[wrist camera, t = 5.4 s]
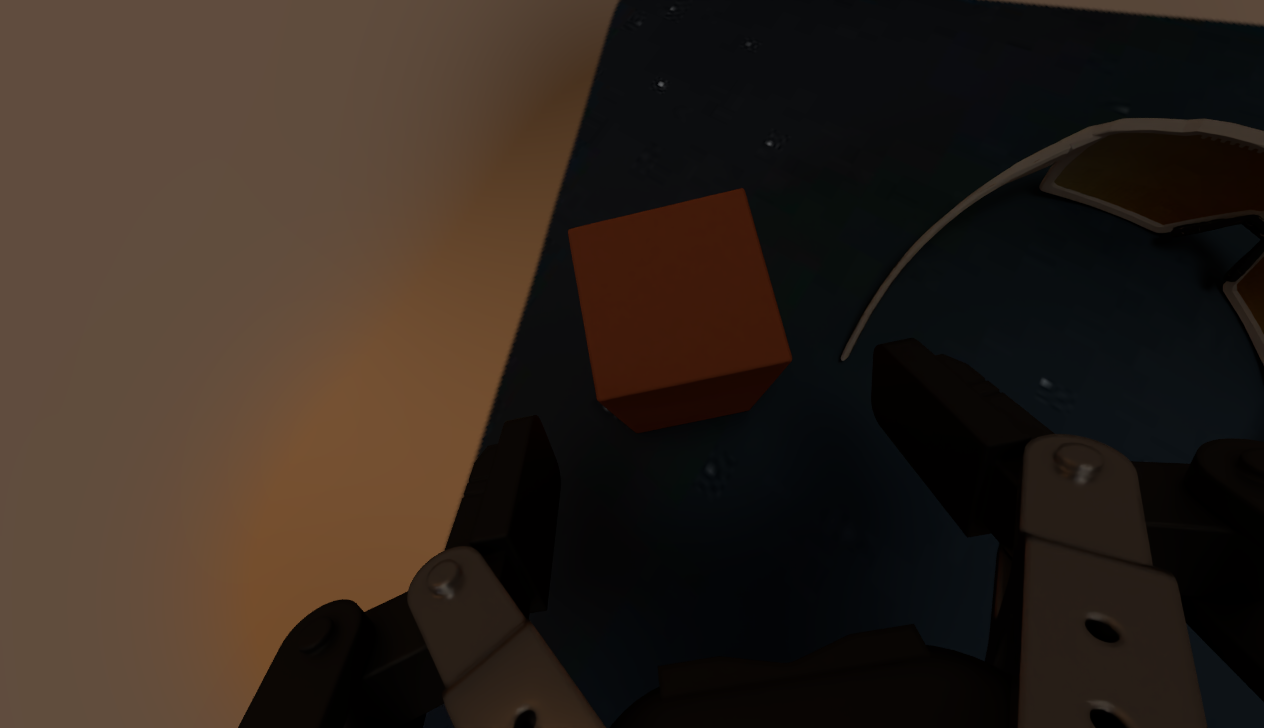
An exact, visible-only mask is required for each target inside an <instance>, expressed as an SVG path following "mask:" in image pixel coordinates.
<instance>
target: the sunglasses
mask: <svg viewBox="0 0 1264 728" xmlns="http://www.w3.org/2000/svg"><path fill="white" fill-rule="evenodd" d="M1055 161H1056V162H1055ZM1054 162H1055V163H1054ZM1053 163H1054V164H1053ZM1052 164H1053V165H1052ZM1050 165H1052V166H1051V168H1050V169H1049V171H1048V172H1047V174H1046V176H1045V177H1044V179H1043V180H1042V182H1041V184H1040V186H1039V187H1040V190H1041V191H1043V192H1047V193H1050V194H1054V195H1058V196H1061V197H1064V198H1067V199H1071V200H1074V201H1077V202H1080V203H1084V204H1087V205H1090V206H1093V207H1095V208H1098V209H1101V210H1103V211H1106V212H1109V213H1111V214H1114V215H1117V216H1119V217H1122V218H1124V219H1127V220H1129V221H1131V222H1134V223H1136V224H1138V225H1140V226H1142V227H1144V228H1146V229H1148V230H1151V231H1153V232H1156V233H1167V232H1171V236H1173V237H1179V236H1186V235H1191V234H1196V233H1201V232H1205V231H1210V230H1215V229H1219V228H1223V227H1227V226H1232V225H1237V224H1242V225H1244V226H1245V227H1246V228H1247V229H1249V230H1250V231H1251V232H1252V233H1253V234H1255V235H1256V236H1257V237H1258V238H1260V239H1261V240H1260V241H1259V242H1258V243H1257V244H1256V245H1255V246H1254V247H1253V248H1252V249H1251V250H1250V251H1249V252H1248V253H1247V254H1246V255H1245V256H1243V257H1242V258H1241V259H1240V260H1239V261H1238V262H1237V263H1236V264H1235V265H1234V266H1233V267H1232V268H1231V269H1230V270H1229V271H1228V272H1227V273H1226V274H1225V276H1224V278H1223V279H1224V281H1226V282H1225V283H1224V284H1223V292H1224V293H1225V295H1226V296H1227V298H1228V300H1229V301H1230V303H1231V304H1232V306H1233V308H1234V309H1235V311H1236V312H1237V314H1238V315H1239V317H1240V319H1241V321H1242V322H1243V324H1244V326H1245V328H1246V330H1247V332H1248V334H1249V336H1250V338H1251V340H1252V342H1253V345H1254V347H1255V349H1256V351H1257V353H1258V355H1259V357H1260V359H1261V361H1262V363H1263V365H1264V131H1261V130H1257V129H1253V128H1249V127H1246V126H1242V125H1238V124H1234V123H1228V122H1222V121H1216V120H1210V119H1195V120H1179V119H1160V118H1130V119H1120V120H1116V121H1113V122H1109V123H1105V124H1101V125H1096V126H1091V127H1088V128H1086V129H1084V130H1081V131H1079V132H1077V133H1075V134H1073V135H1071V136H1069V137H1067V138H1065V139H1063V140H1060V141H1059V142H1057V143H1055V144H1053V145H1051V146H1049V147H1047V148H1045V149H1043V150H1041V151H1039V152H1037V153H1035V154H1033V155H1031V156H1029V157H1028V158H1026V159H1024V160H1022V161H1020V162H1018V163H1016V164H1015V165H1013V166H1012V167H1010V168H1009V169H1007V170H1006V171H1004V172H1003V173H1001V174H1000V175H998V176H996V177H995V178H993V179H992V180H990V181H989V182H988V183H986V184H985V185H983V186H982V187H980V188H979V189H978V190H976V191H975V192H973V193H972V194H970V195H969V196H968V197H967V198H965V199H964V200H963V201H962V202H961V203H959V204H958V205H957V206H956V207H955V208H953V209H952V210H951V211H950V212H949V213H947V214H946V215H945V216H944V217H943V218H941V219H940V220H939V221H938V222H937V223H935V224H934V225H933V226H932V227H931V228H930V229H929V230H928V231H927V232H926V233H925V234H923V235H922V236H921V237H920V238H919V239H918V240H917V241H916V242H915V243H914V245H913V246H912V247H911V248H910V249H909V250H908V251H907V252H906V253H905V254H904V256H903V257H902V258H901V259H900V260H899V261H898V263H897V264H896V265H895V266H894V268H893V269H892V271H891V272H890V273H889V275H888V276H887V277H886V279H885V280H884V282H883V283H882V284H881V286H880V287H879V289H878V290H877V292H876V293H875V295H874V296H873V298H872V299H871V301H870V302H869V304H868V306H867V307H866V309H865V311H864V312H863V314H862V316H861V318H860V319H859V321H858V323H857V324H856V326H855V328H854V330H853V332H852V334H851V336H850V338H849V340H848V342H847V344H846V346H845V348H844V351H843V353H842V356H841V360H845V359H846V358H847V357H848V356H849V354H851V352H852V350H853V348H854V346H855V344H856V342H857V340H858V338H859V336H860V334H861V332H862V330H863V328H864V326H865V325H866V323H867V321H868V319H869V318H870V316H871V314H872V313H873V311H874V309H875V308H876V306H877V304H878V303H879V301H880V300H881V298H882V297H883V295H884V294H885V292H886V291H887V290H888V288H889V287H890V285H891V284H892V283H893V281H894V280H895V279H896V277H897V276H898V275H899V273H900V272H901V271H902V270H903V268H904V267H905V266H906V265H907V263H908V262H909V261H910V260H911V259H912V258H913V256H914V255H915V254H916V253H917V252H918V251H919V250H920V249H921V248H922V246H923V245H924V244H925V243H926V242H927V241H929V240H930V239H931V238H932V237H933V236H934V235H935V234H936V233H937V232H938V231H940V230H941V229H942V228H943V227H944V226H945V225H946V224H947V223H949V222H950V221H951V220H952V219H953V218H955V217H956V216H957V215H958V214H959V213H961V212H962V211H963V210H964V209H966V208H967V207H969V206H970V205H972V204H973V203H975V202H976V201H978V200H979V199H981V198H982V197H983V196H985V195H987V194H989V193H990V192H992V191H994V190H995V189H997V188H999V187H1001V186H1002V185H1004V184H1006V183H1009V182H1011V181H1014V180H1017V179H1019V178H1022V177H1024V176H1027V175H1029V174H1032V173H1034V172H1036V171H1038V170H1041V169H1043V168H1045V167H1048V166H1050ZM1189 233H1190V234H1189Z"/></svg>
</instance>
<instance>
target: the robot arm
mask: <svg viewBox="0 0 1264 728" xmlns="http://www.w3.org/2000/svg"><path fill="white" fill-rule="evenodd" d="M871 402H872V408H873V412H874V415H875V418H876V420H877V422H878V424H879V425H880V427H881V428H882V429H883V430H884V432H885V433H886V434H887V436H888V437H889V438H890V439H891V441H892V442H893V443H894V444H895V446H896V447H897V448H898V450H899V451H900V452H901V453H902V455H903V456H904V457H905V459H906V460H907V461H908V462H909V464H910V465H911V466H912V467H913V469H914V470H915V471H916V473H917V474H918V475H919V476H920V478H921V479H922V480H923V481H924V483H925V484H926V485H927V487H928V488H929V489H930V490H931V492H932V493H933V494H934V496H935V497H936V498H937V499H938V501H939V502H940V503H941V504H942V506H943V507H944V508H945V510H946V511H947V512H948V513H949V515H950V516H951V517H952V519H953V520H954V521H955V522H956V524H957V525H958V526H959V527H960V529H961V530H962V531H963V533H964V534H965V535H966V536H967V537H973V536H978V535H984V534H990V533H992V534H993V536H994V537H995V538H996V539H997V540H998V541H999V547H998V551H997V556H996V567H995V579H994V590H993V601H992V612H991V623H990V633H989V641H988V647H987V652H986V657H985V662H984V661H982V660H980V659H977V658H975V657H973V656H970V655H967V654H963V653H960V652H957V651H954V650H950V649H945V648H940V647H936V646H929V645H925V643H924V641H923V639H922V638H921V636H920V634H919V632H918V631H917V629H916V627H915V625H914V624H911V625H905V626H899V627H892V628H886V629H880V630H874V631H868V632H862V633H856V634H850V635H847V636H845V637H843V638H841V639H839V640H837V641H835V642H833V643H831V644H829V645H827V646H825V647H823V648H821V649H819V650H817V651H814V652H812V653H810V654H808V655H806V656H804V657H802V658H800V659H798V660H796V661H793V662H790V663H777V662H768V661H758V660H749V659H740V658H730V657H721V656H718V657H711V658H705V659H699V660H693V661H687V662H681V663H675V664H669V665H663V666H658V673H659V685H660V687H658V688H656V689H654V690H652V691H650V692H649V693H647V694H646V695H644V696H643V697H641V698H640V699H638V700H637V701H635V702H634V703H633V704H632V705H631V706H630V707H629V708H627V709H626V710H625V711H624V712H623V713H622V714H621V715H620V716H619V717H618V719H617V720H616V721H615V722H614V723H613V724H612V725H611V727H610V728H1207V724H1206V719H1205V714H1204V709H1203V704H1202V699H1201V694H1200V690H1199V685H1198V680H1197V675H1196V670H1195V665H1194V660H1193V656H1192V651H1191V646H1190V641H1189V636H1188V631H1187V626H1186V623H1187V624H1188V625H1189V626H1190V627H1191V628H1192V629H1193V630H1194V631H1195V632H1196V633H1197V635H1198V636H1199V637H1200V638H1201V639H1202V640H1203V641H1204V642H1205V643H1206V644H1207V645H1208V646H1209V647H1210V648H1211V649H1212V650H1213V651H1214V652H1215V653H1216V654H1217V655H1218V656H1219V657H1220V658H1221V659H1222V660H1223V661H1224V662H1225V663H1226V664H1227V665H1228V666H1229V667H1230V668H1231V669H1232V670H1233V671H1234V672H1235V673H1236V674H1237V675H1238V676H1239V677H1240V678H1241V679H1242V680H1243V681H1244V682H1245V683H1246V684H1247V685H1248V686H1249V687H1250V688H1251V689H1252V690H1253V691H1254V692H1255V693H1256V694H1257V695H1258V696H1259V698H1260V699H1261V700H1262V701H1263V702H1264V442H1260V441H1254V440H1246V439H1218V440H1213V441H1209V442H1207V443H1204V444H1203V445H1202V446H1200V447H1199V449H1198V450H1197V452H1196V454H1195V456H1194V458H1193V460H1192V462H1191V464H1180V463H1155V462H1133V461H1129V460H1128V459H1127V458H1126V457H1125V456H1124V455H1122V454H1121V453H1120V452H1118V451H1117V450H1115V449H1113V448H1111V447H1109V446H1107V445H1105V444H1103V443H1100V442H1098V441H1095V440H1092V439H1088V438H1085V437H1080V436H1075V435H1067V434H1054V433H1053V432H1052V431H1051V430H1049V429H1048V428H1047V427H1045V426H1044V425H1043V424H1042V423H1040V422H1039V421H1038V420H1037V419H1035V418H1034V417H1033V416H1032V415H1030V414H1029V413H1028V412H1027V411H1025V410H1024V409H1023V408H1022V407H1020V406H1019V405H1018V404H1017V403H1015V402H1014V401H1013V400H1012V399H1010V398H1009V397H1008V396H1007V395H1005V394H1004V393H1000V392H999V389H998V388H997V387H995V386H994V385H993V384H992V383H990V382H989V381H985V378H984V377H983V376H981V375H980V374H979V373H978V372H976V371H975V370H974V369H973V368H971V367H970V366H969V365H968V364H966V363H963V362H961V361H958V360H956V359H953V358H951V357H949V356H946V355H944V354H940V355H934V354H933V353H932V352H930V351H929V350H928V349H927V348H926V347H925V346H923V345H922V344H921V343H920V342H919V341H917V340H916V339H914V338H909V339H904V340H899V341H894V342H889V343H885V344H880V345H877V346H876V347H875V349H874V354H873V373H872V395H871ZM560 489H561V478H560V471H559V466H558V463H557V460H556V457H555V455H554V452H553V450H552V447H551V445H550V442H549V440H548V437H547V435H546V432H545V430H544V427H543V425H542V423H541V420H540V419H539V417H538V416H537V415H534V416H529V417H524V418H519V419H514V420H510V421H506V422H505V423H504V426H503V429H502V432H501V436H500V439H499V443H498V444H495V445H490V446H488V447H487V448H486V449H485V450H484V452H483V453H482V454H481V455H480V457H479V458H478V459H477V460H476V462H475V463H474V466H473V469H472V472H471V475H470V478H469V483H468V484H467V486H466V489H465V492H464V498H462V501H461V504H460V507H459V510H458V513H457V516H456V519H455V522H454V524H453V527H452V530H451V533H450V536H449V539H448V542H447V545H446V548H445V551H443V552H441V553H439V554H438V555H436V556H434V557H433V558H432V559H430V560H429V561H428V562H427V563H426V564H425V565H424V566H423V567H422V568H421V569H420V570H419V571H418V572H417V574H416V575H415V577H414V578H413V580H412V582H411V584H410V587H409V590H408V591H407V592H405V593H403V594H402V595H399V596H397V597H395V598H393V599H391V600H389V601H387V602H385V603H383V604H381V605H378V606H376V607H374V608H372V609H370V610H368V611H366V612H363V610H362V609H361V608H360V607H359V606H358V605H357V603H355V602H354V601H351V600H343V599H342V600H337V601H333V602H330V603H328V604H325V605H323V606H321V607H319V608H318V609H316V610H314V611H313V612H312V613H310V614H309V615H307V616H306V617H305V618H304V619H303V620H301V621H300V622H299V623H298V624H297V625H296V626H295V627H294V628H293V629H292V631H291V632H290V633H289V634H288V636H287V637H286V638H285V640H284V641H283V643H282V645H281V647H280V648H279V650H278V652H277V654H276V656H275V658H274V660H273V662H272V664H271V665H270V667H269V669H268V671H267V673H266V675H265V677H264V679H263V681H262V683H261V685H260V687H259V689H258V690H257V692H256V694H255V696H254V698H253V700H252V702H251V704H250V706H249V708H248V710H247V712H246V713H245V715H244V717H243V719H242V721H241V723H240V725H239V727H238V728H423V725H424V721H425V716H426V713H427V712H429V711H431V710H432V709H434V708H436V707H438V706H440V705H442V704H445V706H446V709H447V711H448V713H449V716H450V718H451V720H452V722H453V725H454V727H455V728H606V727H605V726H604V724H603V723H602V721H601V720H600V719H599V717H598V716H597V714H596V713H595V712H594V710H593V709H592V707H591V706H590V705H589V703H588V702H587V700H586V699H585V697H584V696H583V695H582V693H581V692H580V690H579V689H578V688H577V686H576V685H575V683H574V682H573V681H572V679H571V678H570V676H569V675H568V673H567V672H566V671H565V669H564V668H563V666H562V665H561V664H560V662H559V661H558V659H557V658H556V657H555V655H554V654H553V652H552V651H551V649H550V648H549V647H548V645H547V644H546V642H545V641H544V640H543V638H542V637H541V635H540V634H539V633H538V631H537V630H536V628H535V627H534V626H533V624H532V623H531V622H530V620H529V613H534V612H539V611H545V610H547V605H548V596H549V587H550V578H551V570H552V561H553V552H554V543H555V534H556V525H557V516H558V507H559V498H560Z"/></svg>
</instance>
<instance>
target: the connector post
mask: <svg viewBox="0 0 1264 728" xmlns="http://www.w3.org/2000/svg"><path fill="white" fill-rule="evenodd" d="M568 236H569V241H570V247H571V253H572V259H573V264H574V270H575V276H576V282H577V287H578V293H579V299H580V305H581V310H582V316H583V322H584V328H585V333H586V339H587V345H588V351H589V356H590V362H591V368H592V374H593V379H594V385H595V391H596V397H597V400H598V401H599V402H600V403H601V404H602V405H603V406H604V407H606V408H607V409H608V410H609V411H610V412H612V413H613V414H614V415H615V416H616V417H618V418H619V419H620V420H621V421H622V422H624V423H625V424H626V425H627V426H628V427H629V428H631V429H632V430H633V431H634V432H635V433H641V432H646V431H651V430H656V429H661V428H666V427H671V426H676V425H681V424H686V423H690V422H695V421H700V420H705V419H710V418H715V417H720V416H725V415H730V414H734V413H739V412H744V411H749V410H750V409H751V408H752V406H753V405H754V404H755V403H756V402H757V401H758V399H759V398H760V397H761V396H762V395H763V394H764V392H765V391H766V390H767V389H768V388H769V387H770V386H771V384H772V383H773V382H774V381H775V380H776V379H777V377H778V376H779V375H780V374H781V373H782V372H783V370H784V369H785V368H786V367H787V366H788V365H789V363H790V362H791V361H792V356H791V352H790V349H789V345H788V342H787V338H786V334H785V331H784V327H783V324H782V320H781V317H780V313H779V310H778V306H777V303H776V299H775V296H774V292H773V289H772V285H771V282H770V278H769V275H768V271H767V268H766V264H765V260H764V257H763V253H762V250H761V246H760V243H759V239H758V236H757V232H756V229H755V225H754V222H753V218H752V215H751V211H750V208H749V204H748V201H747V197H746V194H745V191H744V189H737V190H733V191H728V192H724V193H720V194H716V195H711V196H707V197H703V198H699V199H694V200H690V201H686V202H682V203H677V204H673V205H669V206H665V207H661V208H656V209H652V210H648V211H644V212H639V213H635V214H631V215H627V216H622V217H618V218H614V219H610V220H605V221H601V222H597V223H593V224H589V225H584V226H580V227H576V228H572V229H569V230H568Z"/></svg>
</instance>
